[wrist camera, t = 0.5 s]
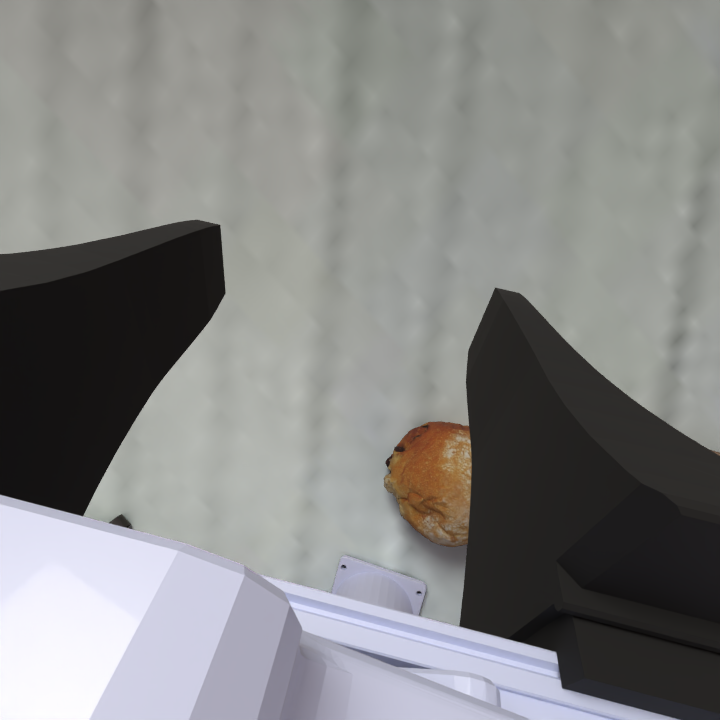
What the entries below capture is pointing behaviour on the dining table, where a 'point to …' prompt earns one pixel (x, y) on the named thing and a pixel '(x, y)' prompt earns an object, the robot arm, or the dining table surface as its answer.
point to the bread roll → (434, 481)
